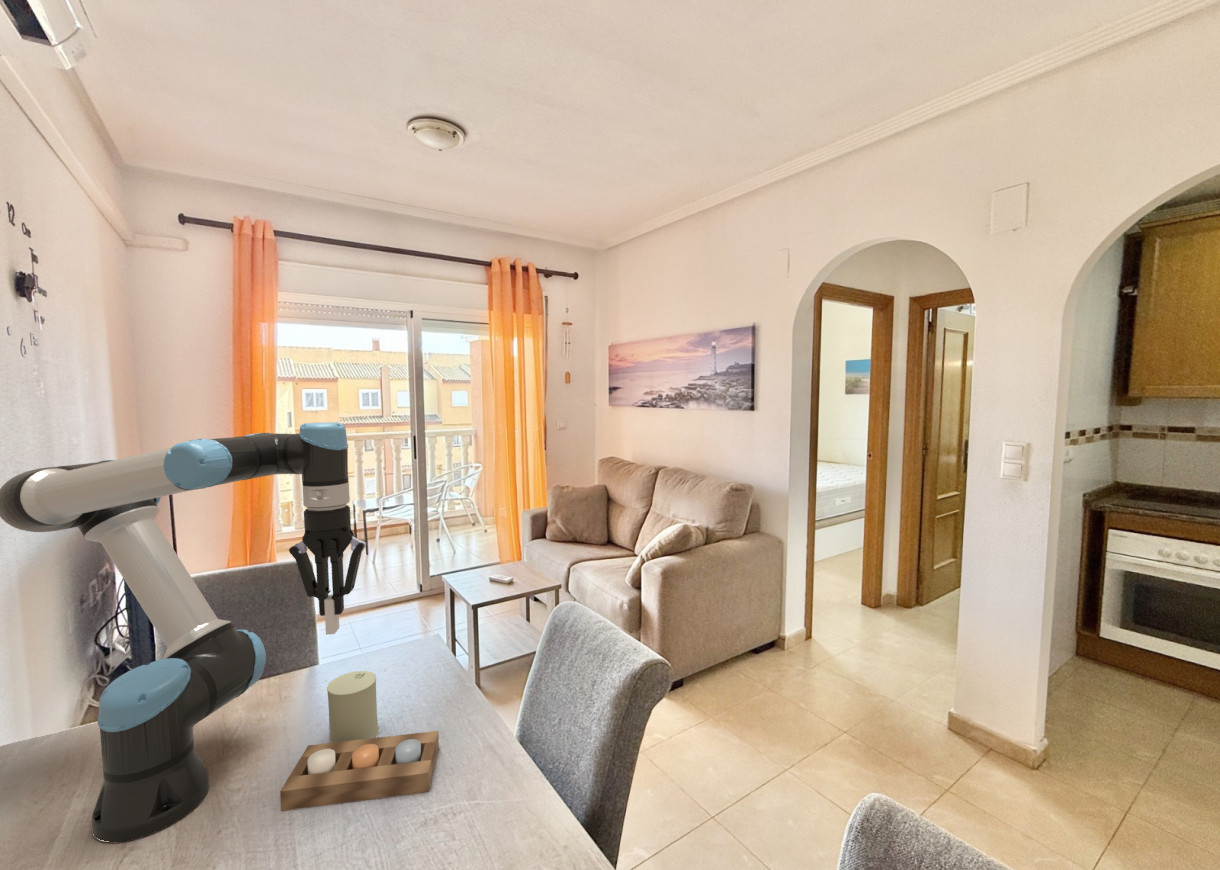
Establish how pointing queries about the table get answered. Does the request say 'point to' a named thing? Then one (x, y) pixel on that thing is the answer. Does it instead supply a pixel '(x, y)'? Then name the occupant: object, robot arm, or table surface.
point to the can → (352, 707)
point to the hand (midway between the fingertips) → (332, 631)
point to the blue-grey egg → (408, 751)
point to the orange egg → (365, 756)
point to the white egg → (321, 761)
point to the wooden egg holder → (361, 773)
